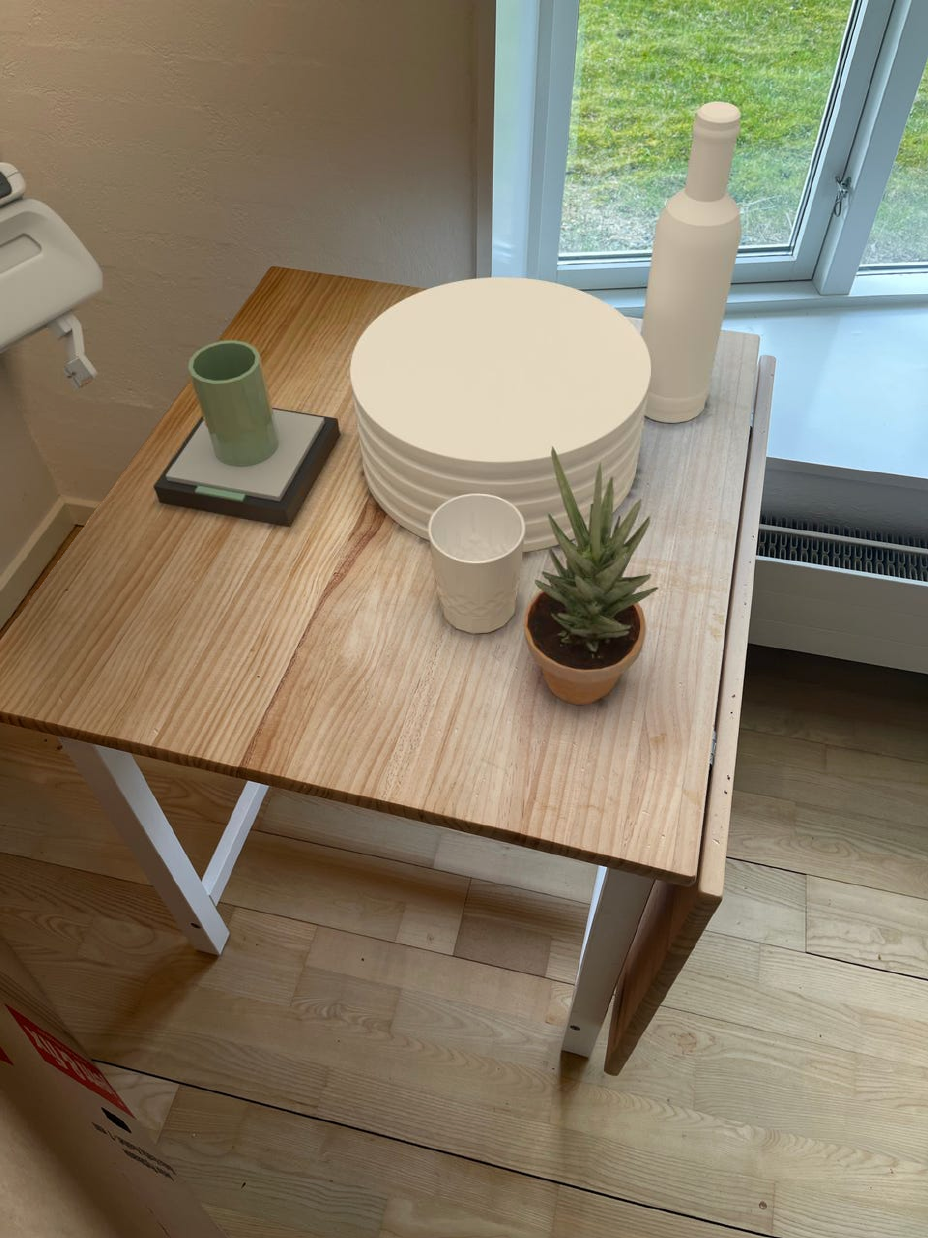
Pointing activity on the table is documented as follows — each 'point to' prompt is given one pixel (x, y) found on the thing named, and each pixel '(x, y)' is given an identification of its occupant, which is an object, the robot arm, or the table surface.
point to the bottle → (692, 271)
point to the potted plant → (588, 601)
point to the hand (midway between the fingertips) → (33, 416)
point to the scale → (251, 471)
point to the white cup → (477, 560)
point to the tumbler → (234, 402)
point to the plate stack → (499, 400)
